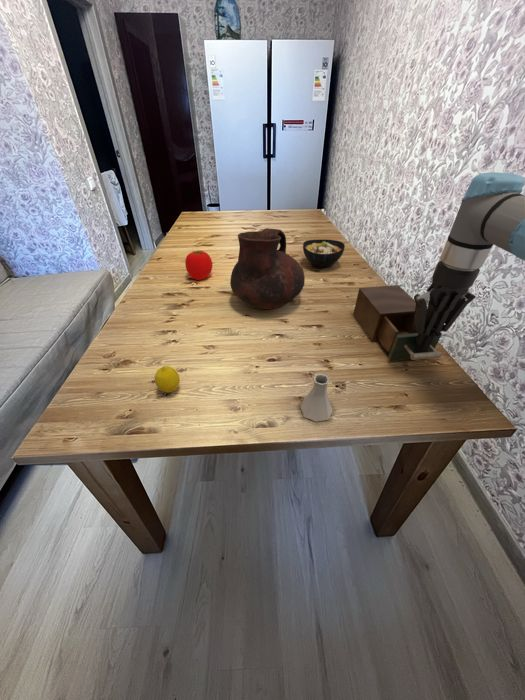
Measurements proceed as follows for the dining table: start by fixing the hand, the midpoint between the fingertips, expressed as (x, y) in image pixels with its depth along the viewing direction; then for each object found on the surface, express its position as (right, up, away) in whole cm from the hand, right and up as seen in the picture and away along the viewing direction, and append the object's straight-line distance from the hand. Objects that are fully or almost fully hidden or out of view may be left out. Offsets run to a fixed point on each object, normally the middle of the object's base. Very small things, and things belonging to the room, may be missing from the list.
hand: (419, 353), depth 72 cm
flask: (-27, -13, -7) cm, 31 cm away
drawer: (-1, +1, +7) cm, 7 cm away
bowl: (-14, +38, +52) cm, 66 cm away
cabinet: (-2, +8, +17) cm, 19 cm away
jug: (-38, +18, +30) cm, 52 cm away
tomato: (-65, +31, +45) cm, 85 cm away
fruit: (-62, -9, -2) cm, 63 cm away
